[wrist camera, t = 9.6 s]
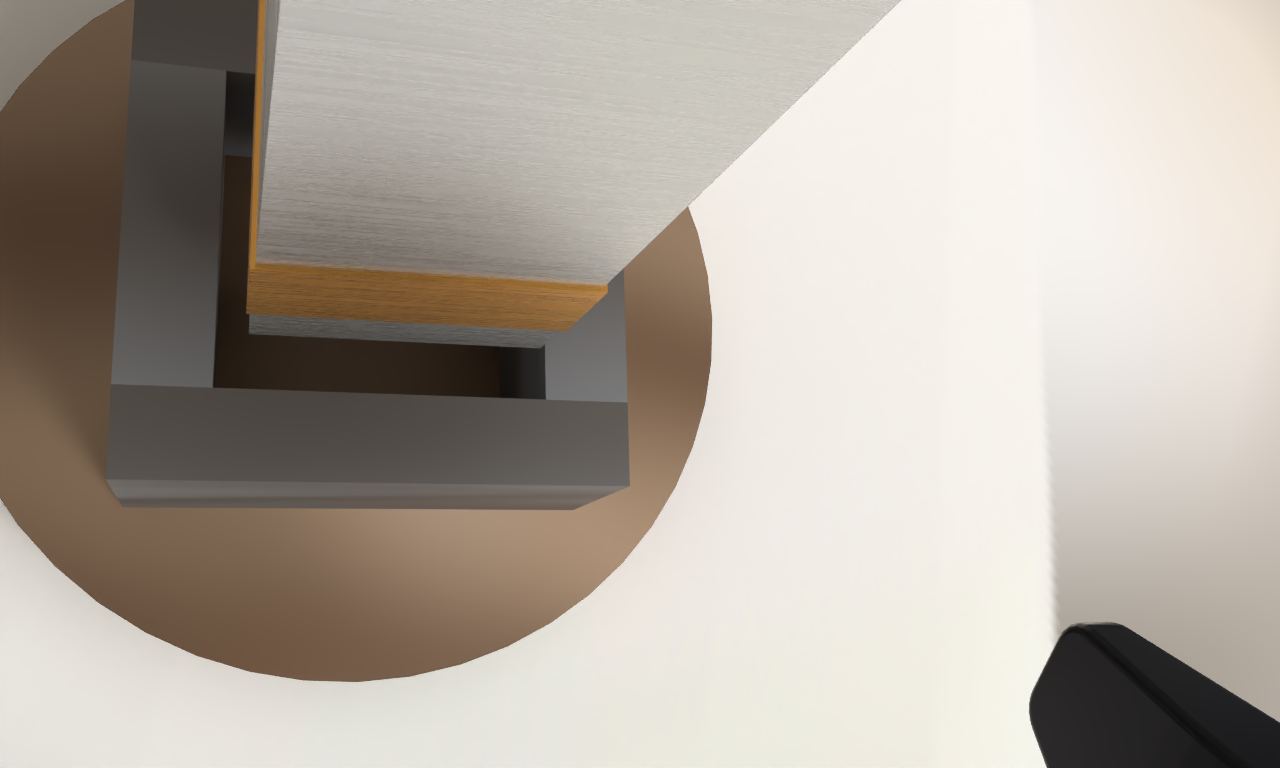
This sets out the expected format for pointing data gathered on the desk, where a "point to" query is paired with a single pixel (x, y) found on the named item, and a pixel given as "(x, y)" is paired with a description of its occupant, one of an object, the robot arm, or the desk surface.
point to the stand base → (296, 394)
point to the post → (500, 150)
